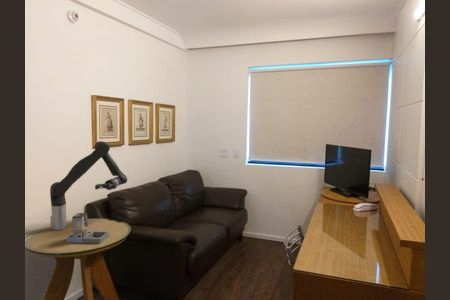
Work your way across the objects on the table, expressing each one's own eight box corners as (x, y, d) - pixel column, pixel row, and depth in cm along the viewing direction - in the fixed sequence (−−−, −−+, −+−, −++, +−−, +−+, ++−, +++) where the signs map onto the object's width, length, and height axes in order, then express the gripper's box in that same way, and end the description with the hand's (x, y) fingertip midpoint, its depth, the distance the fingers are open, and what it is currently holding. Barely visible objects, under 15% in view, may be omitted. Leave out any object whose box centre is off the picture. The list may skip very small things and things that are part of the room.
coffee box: (78, 236, 203) (77, 212, 202) (88, 236, 204) (87, 212, 202) (72, 241, 194) (71, 216, 193) (82, 241, 195) (82, 216, 193)
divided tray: (66, 242, 193) (66, 235, 192) (77, 235, 206) (77, 229, 205) (100, 243, 191) (100, 237, 191) (109, 236, 204) (109, 230, 204)
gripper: (102, 178, 231) (91, 182, 215) (120, 179, 230) (111, 183, 214) (102, 188, 232) (92, 193, 215) (120, 189, 231) (111, 193, 215)
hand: (101, 188), depth 215 cm, fingers open, 8 cm apart
